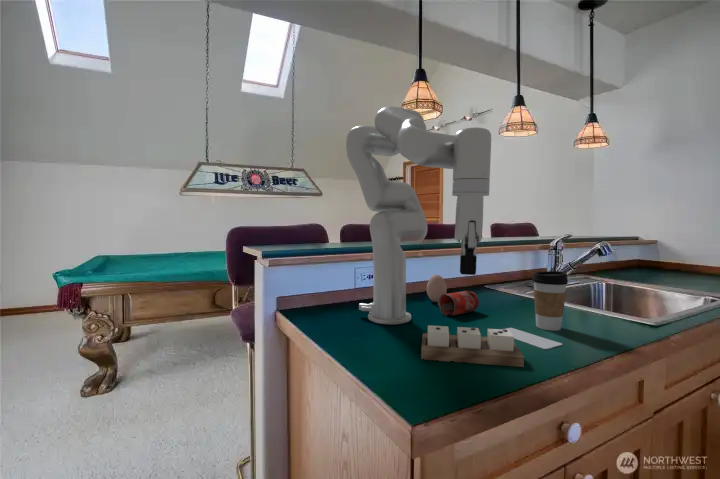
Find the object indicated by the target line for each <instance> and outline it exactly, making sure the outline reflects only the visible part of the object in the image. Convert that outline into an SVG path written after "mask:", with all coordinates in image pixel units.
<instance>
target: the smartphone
mask: <svg viewBox="0 0 720 479" xmlns="http://www.w3.org/2000/svg"><path fill="white" fill-rule="evenodd" d="M501 329H502V330H503V329H505V330H510V332H511V333H512V335H513V336H514V341H517V342H518V341H519V342H520V343H524V344H526V345H529V346H533V347H535V348H537V349H541V350H544V351H548V350H551V349H556V348H559V347H562V346H564V343H562V342H559V341H555V340H552V339H550V338H546V337H542V336H539V335H536V334H533V333H530V332H527V331H524V330H520V329H517V328H514V327H504V328H501Z"/></svg>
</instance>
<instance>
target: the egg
mask: <svg viewBox="0 0 720 479" xmlns="http://www.w3.org/2000/svg"><path fill="white" fill-rule="evenodd" d="M447 289H448V288H447V284H446V281H445V279H444V278H443V276H441V275H439V274H434V275H432V276H431V277H430V278H429V279H428V282H427V284H426V294H427V296H428V298H429V300H431V301H432V302H433V303H438V300H439V298H440V297H441V296H442V295H443V294H447Z"/></svg>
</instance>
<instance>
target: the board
mask: <svg viewBox="0 0 720 479" xmlns="http://www.w3.org/2000/svg"><path fill="white" fill-rule="evenodd" d="M421 339H422V340H421V350H420V351H421V352H420V357H421V360H423V359H424V360H426V361H437V360H438V361H439V362H450V361H454V362H453V363H463V362H465V363H466V362H467V363H466V364H480V365H492V366H504V367H505V366H506V367H516V368H517V367H518V368H519V367H521V368H524V367H525V365H524V364H525V363H524V362H525V356H524V355H523V353H522V352H521V351H520V349H519V348H518V346H517V345H516V343H515V342H514V349H513V351H501V350H489V349H488V346H487V336H481V349H471V348H458V347H457V334H449V347H441V346H428V332H425V333H424V332H422V336H421Z"/></svg>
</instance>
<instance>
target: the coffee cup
mask: <svg viewBox="0 0 720 479" xmlns="http://www.w3.org/2000/svg"><path fill="white" fill-rule="evenodd" d="M532 282H533V298H534V299H533V300H534V301H533V302H534V312H535V325H536V327H537V328H539V329H541V330H546V331H550V332H551V331H554V332H555V331H560V330H562V322H563V314H564V308H565V301H566V295H567V290H566V287H567V285H568V284H569V283H568V282H569V280H568V273H567V272H566V271H559V270H557V271H556V270H555V271H554V270H553V271H552V270H551V271H550V270H549V271H536V272H533V276H532Z"/></svg>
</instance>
